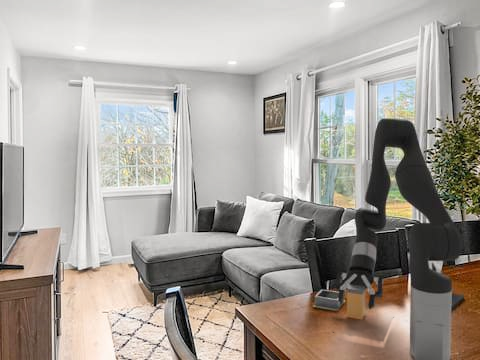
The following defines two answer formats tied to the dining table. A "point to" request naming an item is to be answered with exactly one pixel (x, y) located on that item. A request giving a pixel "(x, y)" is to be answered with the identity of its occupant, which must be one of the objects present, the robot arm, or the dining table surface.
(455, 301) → the smart home device
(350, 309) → the chute block
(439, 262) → the beer glass
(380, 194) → the robot arm
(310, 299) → the dining table surface
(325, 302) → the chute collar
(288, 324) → the dining table surface
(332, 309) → the cream flat slab
